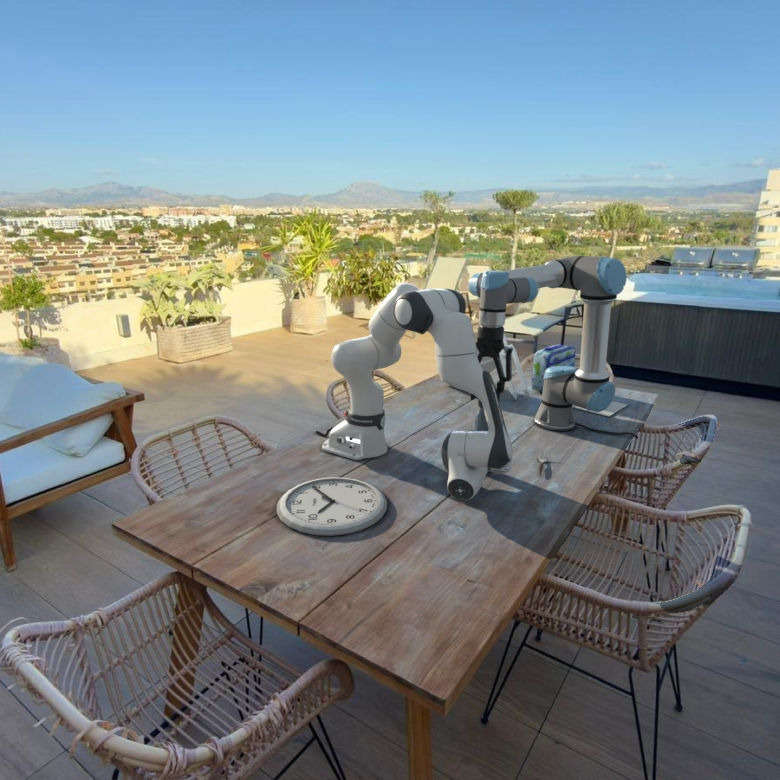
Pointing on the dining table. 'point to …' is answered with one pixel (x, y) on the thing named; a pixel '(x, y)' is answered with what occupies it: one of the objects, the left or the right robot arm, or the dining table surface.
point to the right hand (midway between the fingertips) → (485, 400)
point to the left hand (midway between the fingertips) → (482, 448)
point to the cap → (480, 403)
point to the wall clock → (331, 506)
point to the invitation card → (608, 409)
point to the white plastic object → (490, 365)
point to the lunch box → (550, 362)
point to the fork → (542, 461)
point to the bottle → (481, 421)
